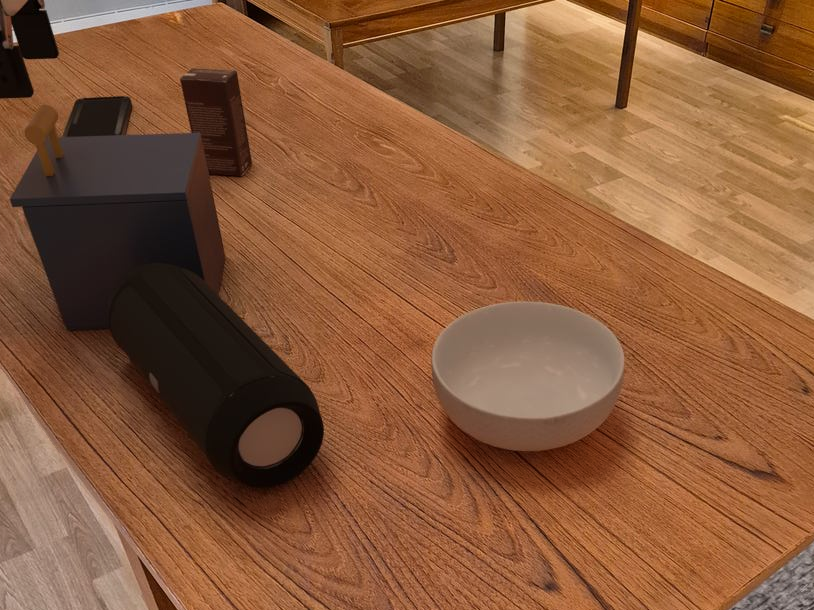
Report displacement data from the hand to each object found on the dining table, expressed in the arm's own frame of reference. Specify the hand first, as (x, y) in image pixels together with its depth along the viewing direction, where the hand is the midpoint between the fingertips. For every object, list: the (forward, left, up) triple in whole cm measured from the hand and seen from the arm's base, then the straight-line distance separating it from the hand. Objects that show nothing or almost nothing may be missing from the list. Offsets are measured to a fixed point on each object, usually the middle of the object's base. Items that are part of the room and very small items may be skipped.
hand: (28, 76), depth 79 cm
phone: (-8, +46, -22) cm, 52 cm away
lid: (+5, 0, -9) cm, 10 cm away
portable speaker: (+14, -21, -23) cm, 34 cm away
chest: (+5, 0, -22) cm, 23 cm away
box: (+11, +30, -23) cm, 39 cm away
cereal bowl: (+42, -25, -23) cm, 54 cm away
